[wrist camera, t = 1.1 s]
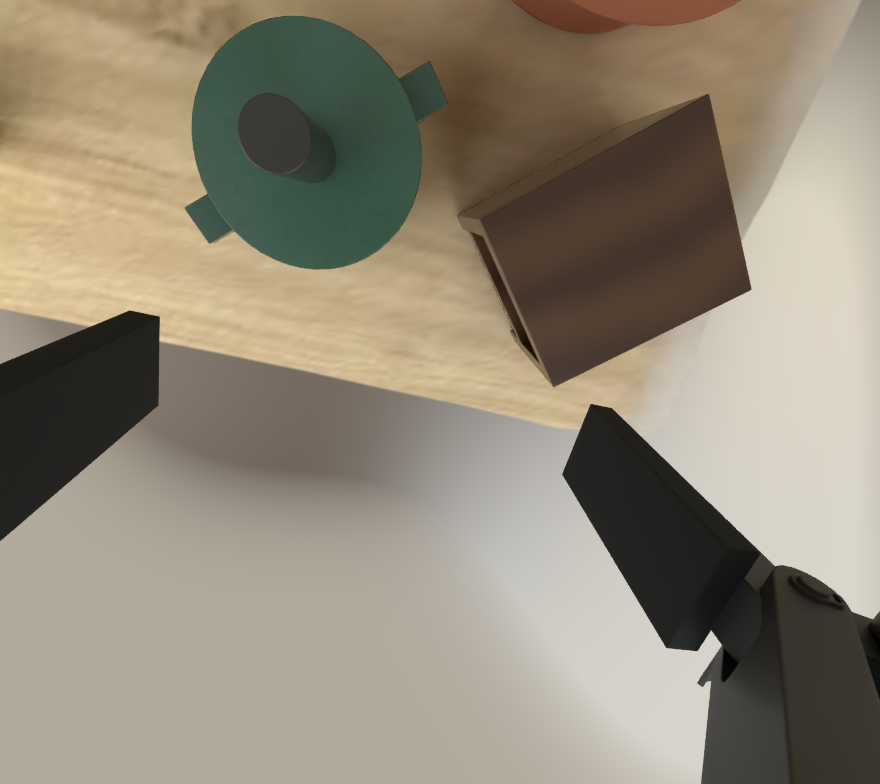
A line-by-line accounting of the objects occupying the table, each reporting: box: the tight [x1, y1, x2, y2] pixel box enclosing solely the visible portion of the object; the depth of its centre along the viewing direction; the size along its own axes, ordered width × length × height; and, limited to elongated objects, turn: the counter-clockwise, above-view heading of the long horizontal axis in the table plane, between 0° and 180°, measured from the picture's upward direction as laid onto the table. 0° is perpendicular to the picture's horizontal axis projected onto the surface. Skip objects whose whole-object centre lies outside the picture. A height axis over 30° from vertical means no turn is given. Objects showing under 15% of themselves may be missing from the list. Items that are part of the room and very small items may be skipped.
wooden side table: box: [457, 94, 751, 387], centre depth 32 cm, size 12×14×11 cm
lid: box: [192, 16, 422, 269], centre depth 23 cm, size 13×13×9 cm
